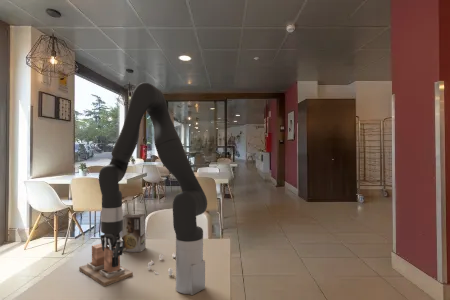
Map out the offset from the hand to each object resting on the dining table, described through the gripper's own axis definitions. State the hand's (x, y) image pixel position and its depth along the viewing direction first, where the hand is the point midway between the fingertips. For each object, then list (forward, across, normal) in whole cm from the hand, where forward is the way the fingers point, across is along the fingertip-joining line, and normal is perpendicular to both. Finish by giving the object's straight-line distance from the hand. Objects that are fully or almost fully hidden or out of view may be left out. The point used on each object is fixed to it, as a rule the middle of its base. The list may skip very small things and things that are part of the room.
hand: (112, 264), depth 107 cm
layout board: (+4, +5, 0) cm, 7 cm away
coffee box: (+5, +19, -21) cm, 29 cm away
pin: (+2, 0, 0) cm, 2 cm away
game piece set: (+5, -9, -21) cm, 23 cm away
